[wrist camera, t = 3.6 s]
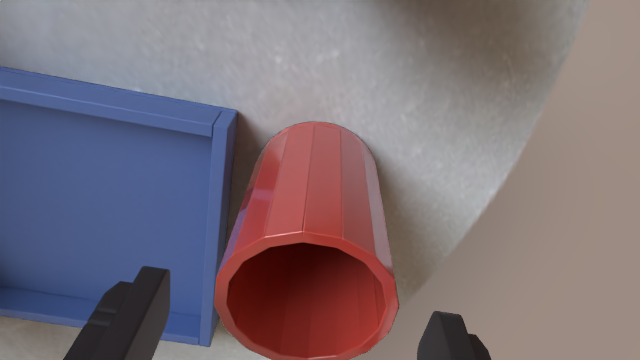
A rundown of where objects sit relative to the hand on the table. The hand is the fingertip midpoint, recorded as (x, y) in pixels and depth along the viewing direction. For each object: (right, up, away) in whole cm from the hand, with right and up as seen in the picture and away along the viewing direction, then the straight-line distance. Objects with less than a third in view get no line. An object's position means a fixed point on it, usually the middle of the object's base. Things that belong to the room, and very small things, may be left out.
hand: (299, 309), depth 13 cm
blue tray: (-11, +2, +8) cm, 14 cm away
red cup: (0, +4, +7) cm, 8 cm away
